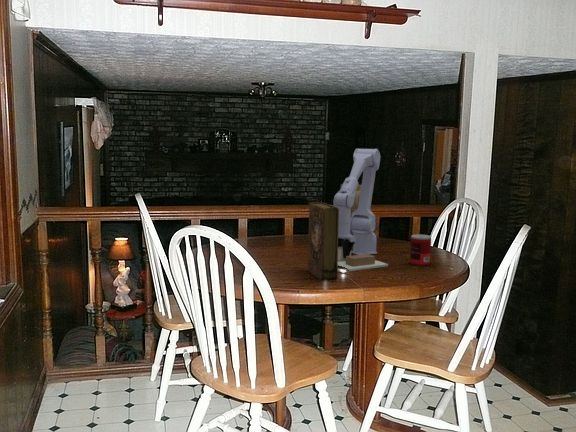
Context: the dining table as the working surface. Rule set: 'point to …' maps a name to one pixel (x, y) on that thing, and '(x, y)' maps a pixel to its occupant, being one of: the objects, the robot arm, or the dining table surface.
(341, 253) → the cream cube
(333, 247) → the book
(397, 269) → the dining table surface
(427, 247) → the canned food
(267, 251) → the dining table surface
